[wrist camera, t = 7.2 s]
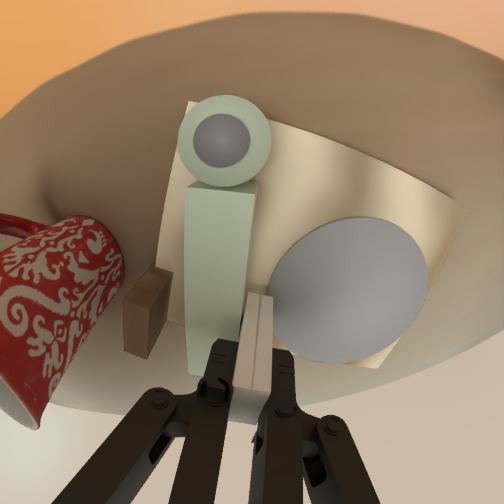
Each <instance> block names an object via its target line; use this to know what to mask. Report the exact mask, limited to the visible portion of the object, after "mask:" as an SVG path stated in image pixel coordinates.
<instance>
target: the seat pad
mask: <svg viewBox="0 0 504 504" xmlns="http://www.w3.org/2000/svg"><path fill="white" fill-rule="evenodd" d="M427 286H428V270H427V264H426V261H425V257H424V255H423V253H422V251H421V249H420V247H419V246H418V244H417V243H416V241H415V240H414V239H413V238H412V237H411V236H410V235H409V234H408V233H407V232H405V231H404V230H403V229H401V228H400V227H399V226H397V225H395V224H393V223H391V222H388V221H385V220H382V219H379V218H372V217H350V218H343V219H339V220H336V221H332V222H329V223H327V224H324V225H322V226H320V227H318V228H316V229H314V230H313V231H311V232H309V233H307V234H306V235H305V236H303V237H302V238H301V239H299V240H298V241H297V242H296V243H295V244H294V245H293V246H292V247H291V248H289V250H288V251H287V252H286V253H285V254H284V256H283V257H282V258H281V260H280V261H279V263H278V264H277V266H276V268H275V270H274V272H273V274H272V276H271V278H270V282H269V285H268V289H267V296H271V297H273V332H274V334H275V336H276V337H277V338H278V340H279V341H280V342H281V343H282V344H283V345H284V346H285V347H286V348H287V349H289V350H290V351H292V352H293V353H295V354H297V355H299V356H301V357H303V358H305V359H308V360H312V361H316V362H321V363H347V362H352V361H357V360H360V359H364V358H366V357H369V356H372V355H374V354H376V353H378V352H380V351H382V350H383V349H385V348H387V347H388V346H390V345H391V344H392V343H394V342H395V341H396V340H397V339H398V338H400V337H401V336H402V335H403V334H404V333H405V332H406V331H407V329H408V328H409V327H410V326H411V324H412V323H413V322H414V320H415V319H416V317H417V315H418V314H419V312H420V310H421V308H422V305H423V303H424V300H425V296H426V293H427Z"/></svg>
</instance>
